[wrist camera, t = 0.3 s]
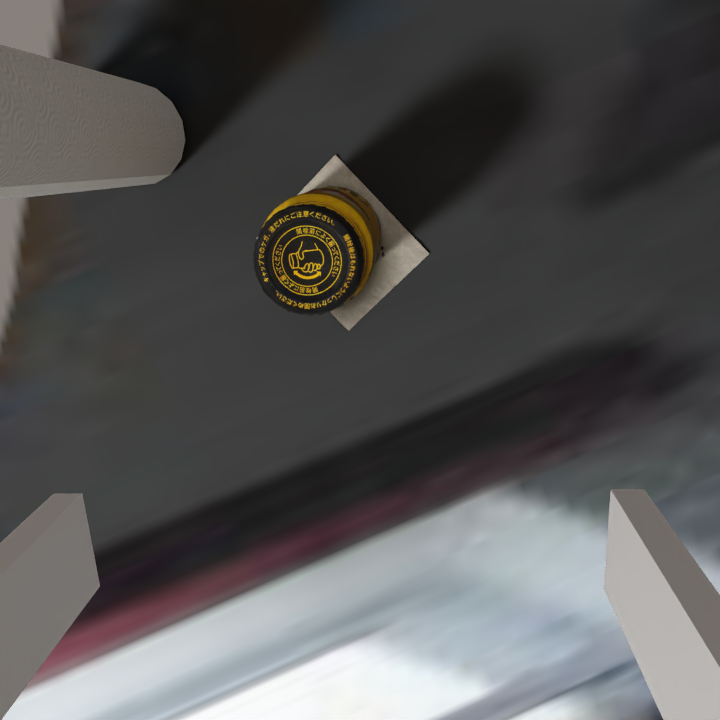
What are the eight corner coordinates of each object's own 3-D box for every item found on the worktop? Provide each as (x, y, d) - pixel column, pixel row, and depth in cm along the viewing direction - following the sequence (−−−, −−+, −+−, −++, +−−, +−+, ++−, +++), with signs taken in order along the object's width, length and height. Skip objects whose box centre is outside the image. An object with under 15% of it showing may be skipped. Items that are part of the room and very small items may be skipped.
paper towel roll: (207, 142, 40) (0, 128, 20) (139, 204, 42) (-118, 251, 21) (126, 44, 39) (-185, -79, 19) (60, 112, 40) (-296, 67, 20)
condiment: (335, 154, 40) (305, 153, 29) (429, 253, 41) (436, 290, 30) (256, 237, 42) (199, 268, 30) (349, 329, 43) (327, 391, 32)
